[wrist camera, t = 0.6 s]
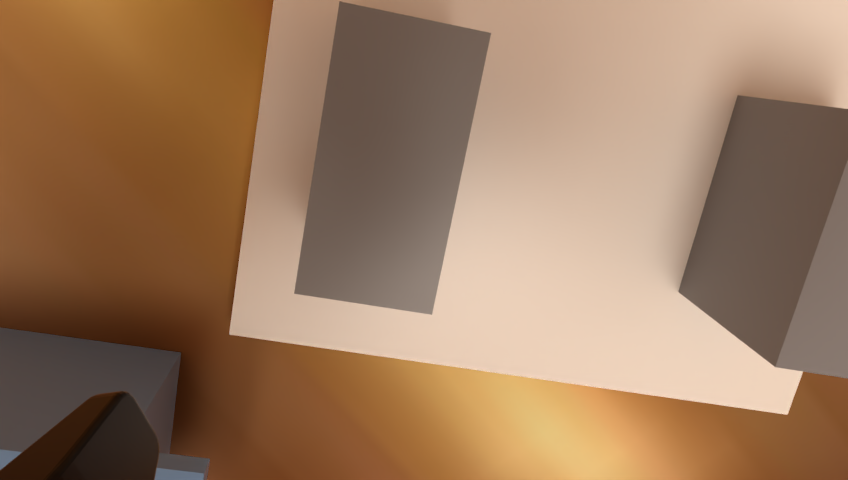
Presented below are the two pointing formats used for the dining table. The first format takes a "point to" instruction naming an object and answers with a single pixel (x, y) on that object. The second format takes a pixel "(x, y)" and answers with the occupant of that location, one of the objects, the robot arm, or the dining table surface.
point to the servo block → (85, 390)
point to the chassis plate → (557, 190)
